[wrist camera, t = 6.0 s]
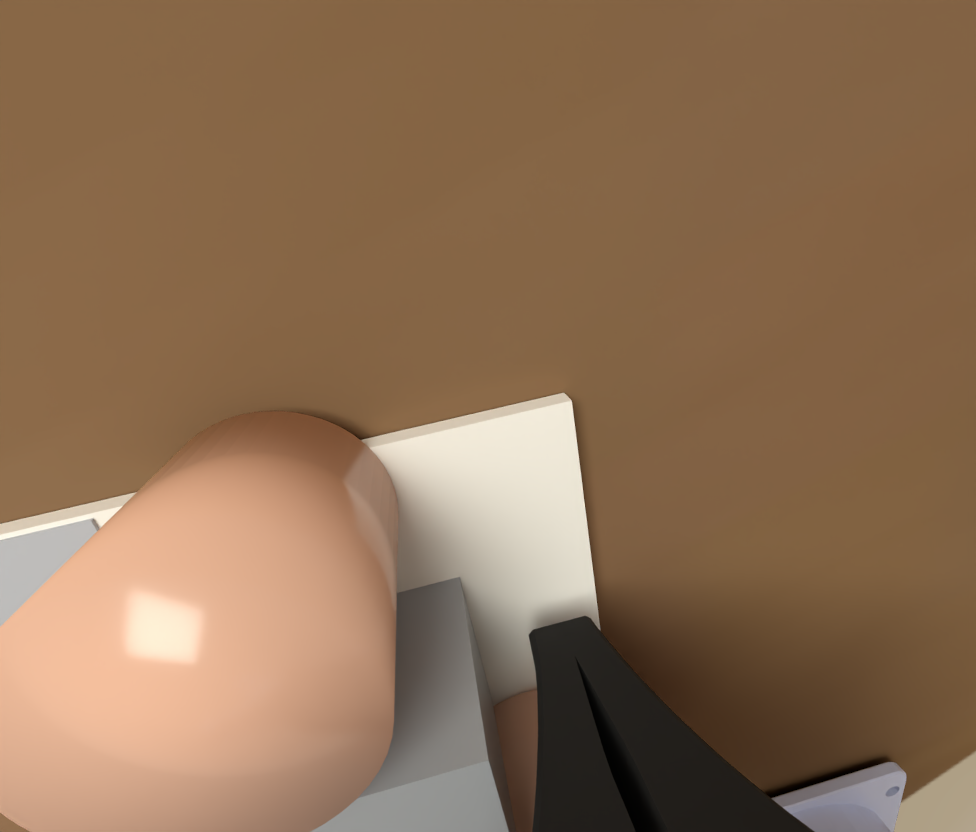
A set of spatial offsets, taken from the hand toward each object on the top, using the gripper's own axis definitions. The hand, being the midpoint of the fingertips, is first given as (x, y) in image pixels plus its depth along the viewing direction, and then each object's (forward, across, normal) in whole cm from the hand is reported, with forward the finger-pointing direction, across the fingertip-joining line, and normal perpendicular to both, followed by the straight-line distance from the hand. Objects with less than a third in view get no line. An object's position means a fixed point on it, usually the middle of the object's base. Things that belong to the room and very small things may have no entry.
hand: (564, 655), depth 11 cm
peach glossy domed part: (+1, +5, -4) cm, 7 cm away
